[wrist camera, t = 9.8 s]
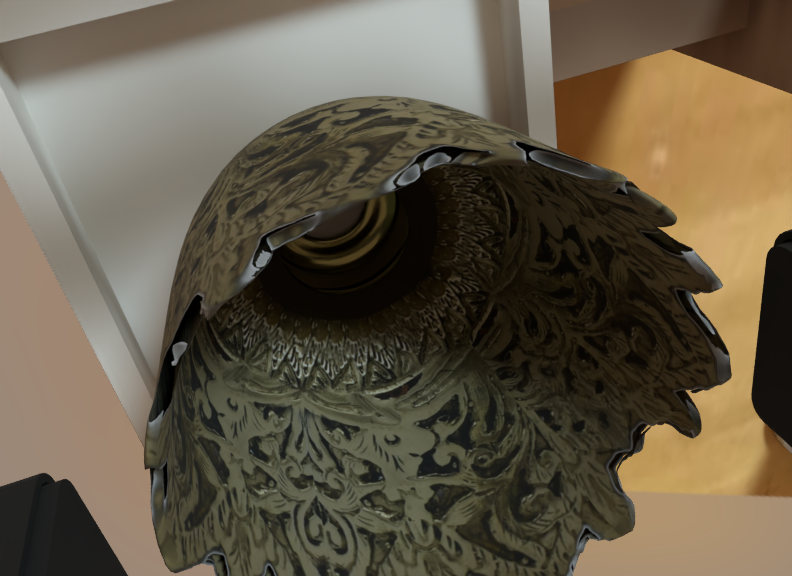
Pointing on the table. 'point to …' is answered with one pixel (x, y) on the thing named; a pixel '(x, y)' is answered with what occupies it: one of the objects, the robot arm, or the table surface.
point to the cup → (417, 352)
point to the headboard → (278, 111)
